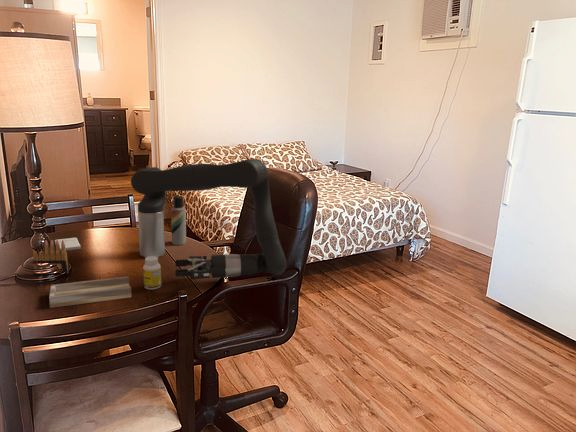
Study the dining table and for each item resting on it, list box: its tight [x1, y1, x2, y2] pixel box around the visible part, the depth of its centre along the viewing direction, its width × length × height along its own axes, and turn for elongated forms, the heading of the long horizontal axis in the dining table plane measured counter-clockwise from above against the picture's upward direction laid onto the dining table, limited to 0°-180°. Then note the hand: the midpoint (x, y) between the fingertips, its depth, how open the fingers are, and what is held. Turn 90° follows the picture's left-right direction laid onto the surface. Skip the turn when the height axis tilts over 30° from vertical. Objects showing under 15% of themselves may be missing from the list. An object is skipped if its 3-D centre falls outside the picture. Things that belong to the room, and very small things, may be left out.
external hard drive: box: [54, 237, 82, 251], centre depth 180 cm, size 2×8×12 cm
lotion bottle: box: [170, 195, 187, 246], centre depth 185 cm, size 6×6×20 cm
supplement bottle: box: [142, 256, 162, 290], centre depth 144 cm, size 5×5×10 cm
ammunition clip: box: [32, 239, 70, 275], centre depth 150 cm, size 11×2×12 cm, turn 98°
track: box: [48, 275, 132, 309], centre depth 137 cm, size 10×22×3 cm, turn 114°
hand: (175, 268), depth 145 cm, fingers open, 8 cm apart
